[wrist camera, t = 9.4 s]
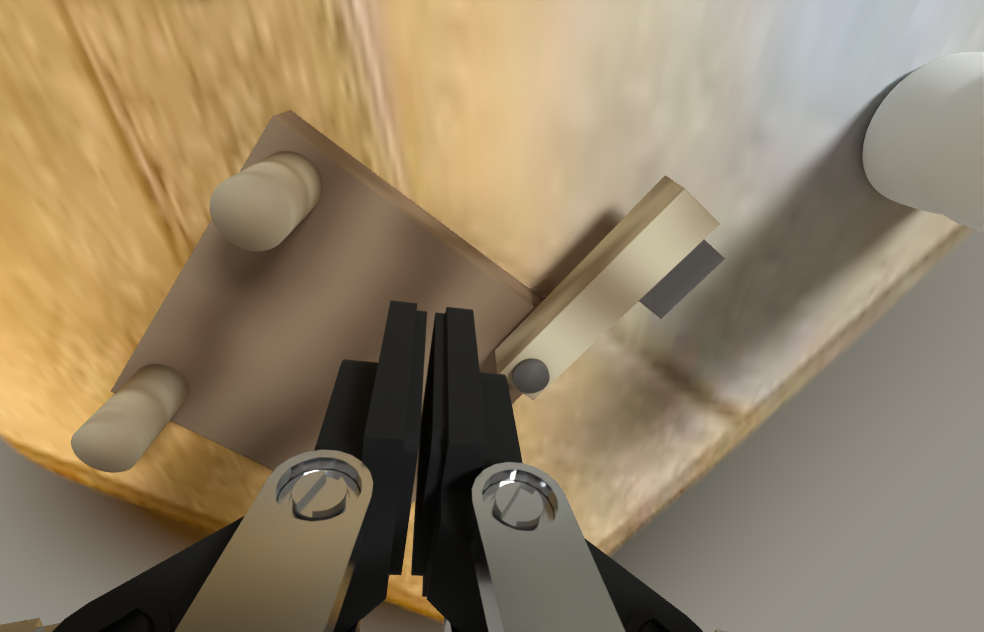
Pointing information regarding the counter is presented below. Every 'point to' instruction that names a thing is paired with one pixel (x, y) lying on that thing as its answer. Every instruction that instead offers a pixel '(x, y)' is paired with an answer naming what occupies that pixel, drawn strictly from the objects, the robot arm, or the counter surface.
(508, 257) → the counter surface
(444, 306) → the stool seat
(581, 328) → the hinged leg
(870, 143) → the water bottle
